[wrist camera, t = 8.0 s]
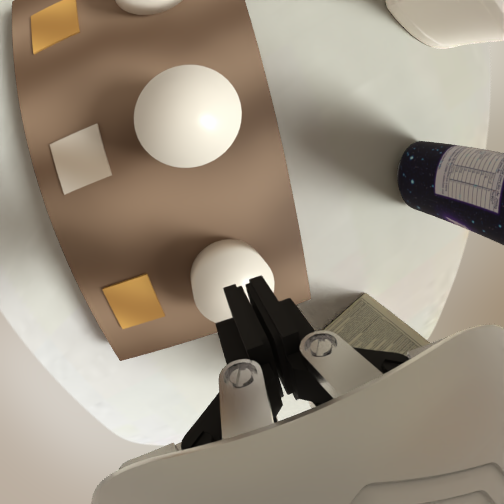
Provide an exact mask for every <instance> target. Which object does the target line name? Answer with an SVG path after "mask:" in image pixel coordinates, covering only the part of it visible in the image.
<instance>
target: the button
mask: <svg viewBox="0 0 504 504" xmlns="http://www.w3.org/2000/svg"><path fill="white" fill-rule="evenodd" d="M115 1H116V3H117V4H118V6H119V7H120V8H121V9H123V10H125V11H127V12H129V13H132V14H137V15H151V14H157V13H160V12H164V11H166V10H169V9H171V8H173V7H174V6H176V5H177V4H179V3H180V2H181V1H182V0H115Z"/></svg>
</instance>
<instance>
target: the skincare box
mask: <svg viewBox="0 0 504 504" xmlns="http://www.w3.org/2000/svg"><path fill="white" fill-rule="evenodd" d="M324 330H325V331H331V332H334V333H335V334H337V335H339V336H340V337H341V338H342V339H343V340H344V341H345V342H347V343H348V344H349V345H350V346H351V347H355V348H362V349H370V350H378V351H386V352H395V353H400V354H403V355H407V353H408V351H410V350H413V349H416V348H419V347H422V346H425V345H427V344H430V342H428V341H427V340H426V339H425V338H423V337H422V336H421V335H420V334H418V333H417V332H416V331H415V330H413V329H412V328H411V327H410V326H408V325H407V324H406V323H404V322H403V321H402V320H400V319H399V318H398V317H397V316H395V315H394V314H393V313H392V312H390V311H389V310H388V309H386V308H385V307H384V306H382V305H381V304H380V303H378V302H377V301H376V300H375V299H373V298H372V297H371V296H369V295H368V294H366V293H365V294H363V295H362V296H361V297H360V298H359V299H357V300H356V301H355V302H354V303H353V304H352V305H351V306H350V307H349V308H348V309H347V310H345V311H344V312H343V313H342V314H341V315H340V316H339V317H338V318H336V319H335V320H334V321H333V322H332V323H331V324H330V325H329V326H327V327H326V328H325V329H324Z"/></svg>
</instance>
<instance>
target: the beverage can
mask: <svg viewBox="0 0 504 504" xmlns="http://www.w3.org/2000/svg"><path fill="white" fill-rule="evenodd" d="M397 178H398V185H399V190H400V193H401V196H402V198H403V200H404V201H405V202H406V204H407V205H408V206H410V207H411V208H413V209H416V210H419V211H422V212H424V213H427V214H430V215H432V216H435V217H438V218H440V219H443V220H446V221H448V222H451V223H453V224H456V225H458V226H461V227H463V228H466V229H468V230H471V231H473V232H475V233H477V234H480V235H482V236H484V237H487V238H489V239H491V240H494V241H496V242H498V243H500V244H502V245H504V153H500V152H495V151H489V150H484V149H478V148H472V147H465V146H458V145H451V144H443V143H434V142H425V141H418V142H415V143H413V144H412V145H410V146H409V147H408V148H407V149H406V151H405V152H404V154H403V156H402V158H401V160H400V163H399V166H398V172H397Z"/></svg>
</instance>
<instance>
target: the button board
mask: <svg viewBox="0 0 504 504" xmlns="http://www.w3.org/2000/svg"><path fill="white" fill-rule="evenodd" d="M12 40H13V56H14V68H15V77H16V85H17V92H18V99H19V105H20V111H21V116H22V121H23V126H24V131H25V135H26V140H27V144H28V148H29V152H30V156H31V160H32V164H33V167H34V171H35V174H36V178H37V181H38V184H39V188H40V191H41V194H42V197H43V200H44V203H45V206H46V209H47V212H48V214H49V217H50V220H51V223H52V225H53V228H54V231H55V233H56V236H57V238H58V241H59V243H60V246H61V248H62V250H63V253H64V255H65V257H66V260H67V262H68V264H69V267H70V269H71V271H72V273H73V275H74V278H75V280H76V282H77V284H78V286H79V288H80V290H81V292H82V294H83V296H84V298H85V300H86V302H87V304H88V306H89V308H90V310H91V312H92V313H93V315H94V317H95V319H96V321H97V323H98V324H99V326H100V328H101V330H102V332H103V333H104V335H105V337H106V339H107V340H108V342H109V344H110V345H111V347H112V349H113V350H114V352H115V354H116V355H117V357H118V358H119V360H120V361H122V360H126V359H129V358H133V357H137V356H140V355H144V354H147V353H151V352H154V351H158V350H161V349H165V348H168V347H172V346H175V345H178V344H182V343H185V342H188V341H191V340H195V339H198V338H201V337H204V336H207V335H210V334H213V333H216V332H217V328H216V324H215V322H213V321H210V320H209V319H207V318H206V317H205V316H204V315H203V314H202V313H201V312H200V311H199V309H198V308H197V306H196V304H195V301H194V296H193V291H192V285H191V278H190V274H191V268H192V265H193V262H194V260H195V259H196V257H197V255H198V254H199V253H200V252H201V251H202V250H203V249H204V248H206V247H207V246H208V245H210V244H212V243H214V242H217V241H220V240H226V239H234V240H239V241H243V242H245V243H247V244H249V245H251V246H252V247H253V248H254V249H255V250H256V251H257V252H258V253H259V255H260V256H261V257H262V258H263V259H264V261H265V262H266V263H267V264H268V266H269V267H270V269H271V271H272V273H273V277H274V295H275V296H276V298H277V299H278V301H282V300H284V299H287V298H291V299H292V301H293V302H294V303H295V305H296V304H299V303H302V302H304V301H307V300H309V299H311V295H310V289H309V282H308V276H307V270H306V264H305V258H304V253H303V247H302V241H301V236H300V230H299V225H298V219H297V214H296V209H295V204H294V199H293V194H292V189H291V184H290V179H289V174H288V169H287V164H286V160H285V155H284V151H283V146H282V142H281V137H280V133H279V128H278V124H277V120H276V115H275V111H274V107H273V103H272V99H271V95H270V91H269V87H268V83H267V79H266V75H265V71H264V67H263V63H262V60H261V56H260V52H259V48H258V45H257V41H256V37H255V34H254V30H253V27H252V23H251V20H250V16H249V13H248V10H247V6H246V3H245V0H182V1H181V2H180V3H179V4H177V5H176V6H174V7H173V8H171V9H169V10H166V11H164V12H160V13H157V14H151V15H137V14H132V13H129V12H127V11H125V10H123V9H121V8H120V7H119V6H118V4H117V3H116V1H115V0H14V1H13V2H12ZM181 65H199V66H204V67H207V68H210V69H212V70H215V71H217V72H218V73H220V74H221V75H223V76H224V77H225V78H226V79H227V80H228V81H229V82H230V83H231V84H232V86H233V87H234V89H235V90H236V92H237V94H238V97H239V100H240V103H241V110H242V117H241V124H240V129H239V131H238V134H237V136H236V138H235V140H234V142H233V143H232V144H231V146H230V147H229V148H228V149H227V150H226V152H224V153H223V154H222V155H221V156H220V157H218V158H217V159H215V160H213V161H211V162H209V163H207V164H204V165H202V166H197V167H191V168H179V167H173V166H170V165H166V164H164V163H162V162H160V161H158V160H156V159H155V158H153V157H152V156H151V155H150V154H149V153H148V152H147V151H146V150H145V149H144V148H143V146H142V145H141V143H140V141H139V139H138V137H137V134H136V131H135V126H134V110H135V106H136V102H137V100H138V97H139V95H140V94H141V92H142V90H143V89H144V87H145V86H146V85H147V84H148V83H149V82H150V81H151V80H152V79H153V78H154V77H155V76H157V75H158V74H160V73H161V72H163V71H165V70H167V69H170V68H173V67H176V66H181Z"/></svg>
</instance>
